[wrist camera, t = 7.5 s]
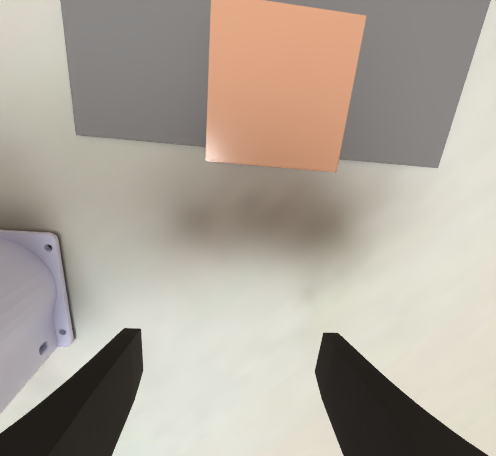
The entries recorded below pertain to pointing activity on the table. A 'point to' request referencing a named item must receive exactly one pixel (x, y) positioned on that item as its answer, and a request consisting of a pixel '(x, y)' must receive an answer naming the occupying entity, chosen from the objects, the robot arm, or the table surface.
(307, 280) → the table surface
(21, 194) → the table surface
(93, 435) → the robot arm
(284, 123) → the peach square slab
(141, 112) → the rubber mat
